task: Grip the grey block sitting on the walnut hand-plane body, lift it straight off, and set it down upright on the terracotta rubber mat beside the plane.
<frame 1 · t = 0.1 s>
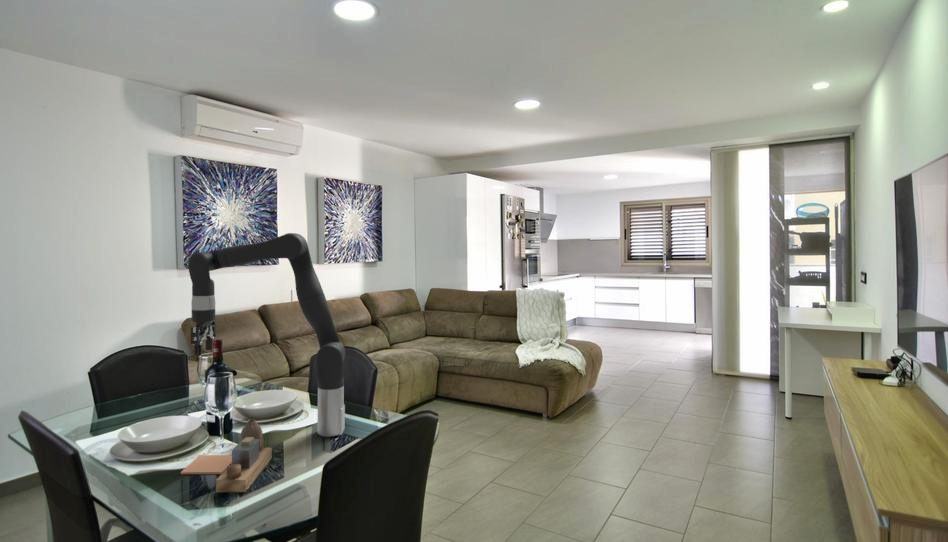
hand: (203, 352, 181), 29 cm above the table, tool pointing down, fingers open, 8 cm apart
plane body: (245, 473, 152), on the table
grey block: (245, 462, 151), point 3 cm above the table, touching plane body
brown oval piece: (251, 446, 172), on the table
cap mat: (210, 465, 157), on the table
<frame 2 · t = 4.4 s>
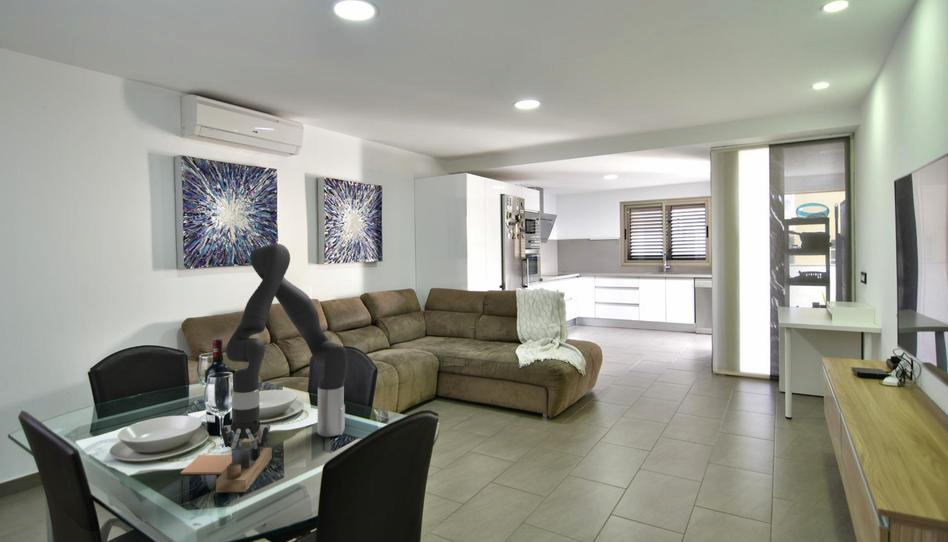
hand: (245, 459, 151), 4 cm above the table, tool pointing down, fingers closed on grey block, 5 cm apart
grey block: (245, 462, 151), point 3 cm above the table, touching gripper, plane body
everything else where it was.
when the fingers open (3 cm above the table, at t = 11.7 s): grey block drops 1 cm, resting on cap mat.
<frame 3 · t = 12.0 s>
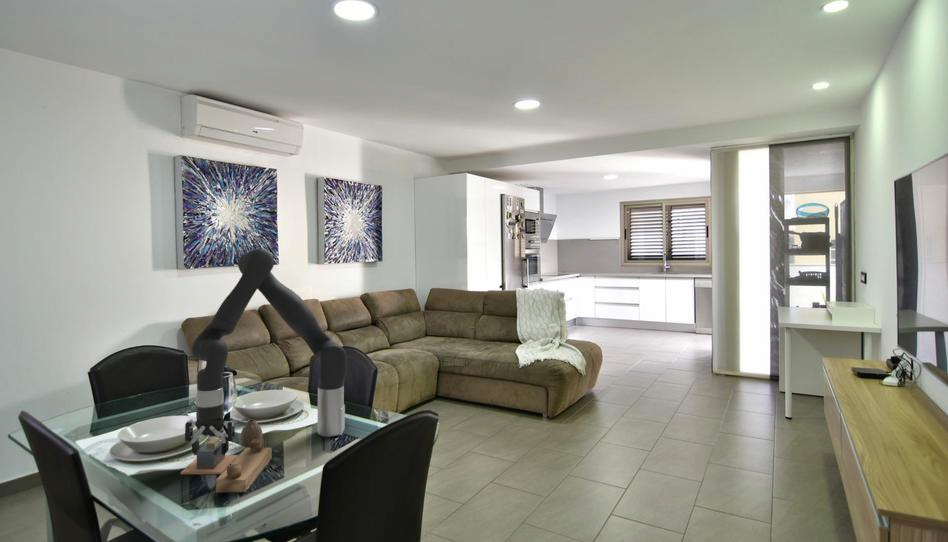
hand: (210, 453, 156), 4 cm above the table, tool pointing down, fingers open, 8 cm apart
grey block: (211, 463, 157), point 1 cm above the table, touching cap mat
everything else where it was.
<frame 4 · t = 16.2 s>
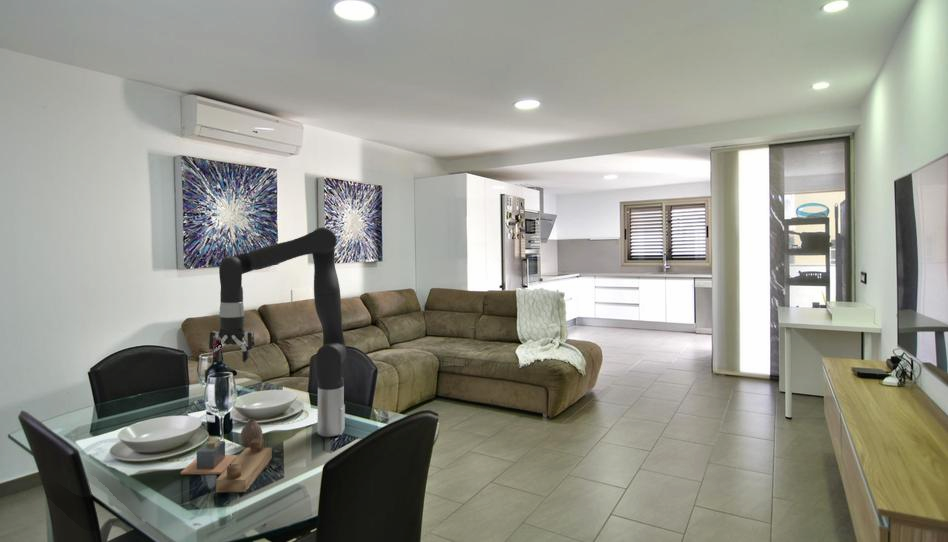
hand: (232, 361, 174), 28 cm above the table, tool pointing down, fingers open, 8 cm apart
nothing on the table moved.
at the end: grey block inside the target area (0.3 cm from its centre), point 0.6 cm above the table; grey block tilted 0°; grey block touching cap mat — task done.
